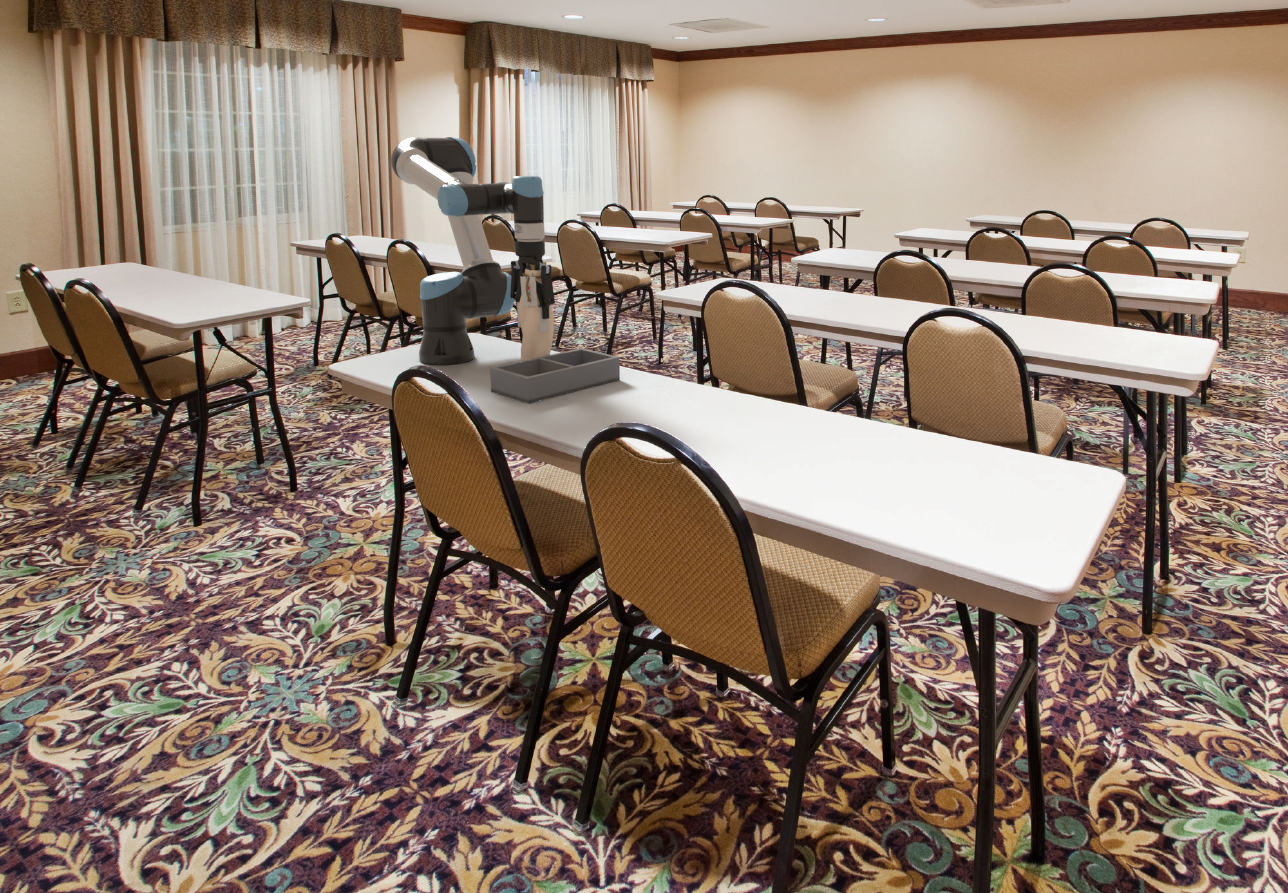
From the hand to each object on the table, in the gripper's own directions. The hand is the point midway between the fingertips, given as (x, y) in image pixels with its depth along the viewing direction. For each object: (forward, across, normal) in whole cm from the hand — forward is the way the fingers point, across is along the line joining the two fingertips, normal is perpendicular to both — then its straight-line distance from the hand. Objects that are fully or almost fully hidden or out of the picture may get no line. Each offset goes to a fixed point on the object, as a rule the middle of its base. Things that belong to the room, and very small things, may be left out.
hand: (533, 328), depth 222 cm
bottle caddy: (+11, +16, -6) cm, 21 cm away
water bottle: (+11, 0, 0) cm, 11 cm away
